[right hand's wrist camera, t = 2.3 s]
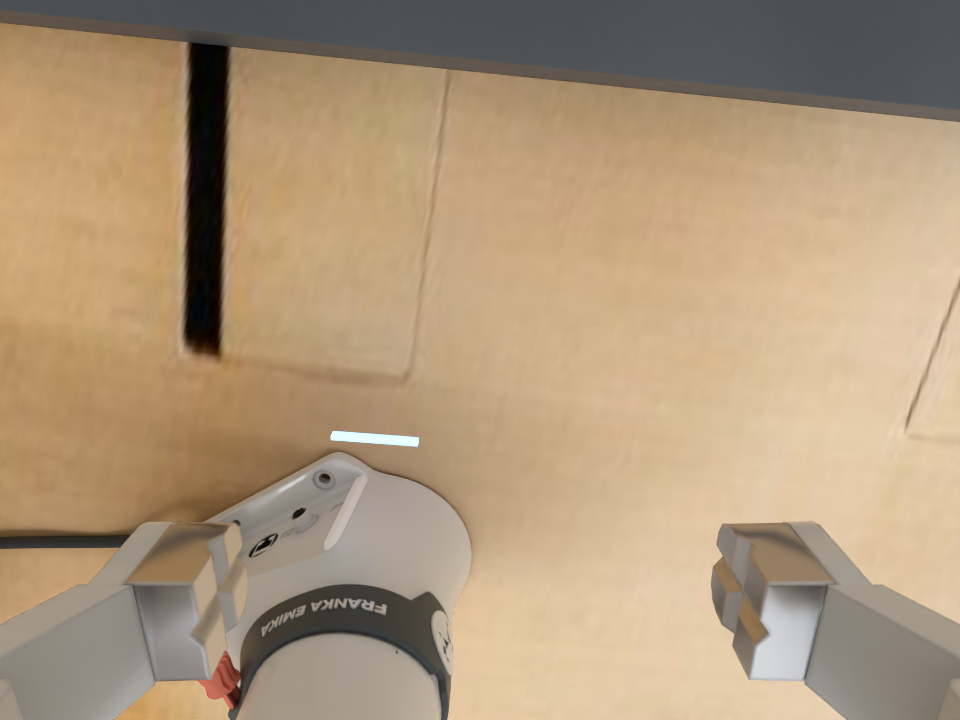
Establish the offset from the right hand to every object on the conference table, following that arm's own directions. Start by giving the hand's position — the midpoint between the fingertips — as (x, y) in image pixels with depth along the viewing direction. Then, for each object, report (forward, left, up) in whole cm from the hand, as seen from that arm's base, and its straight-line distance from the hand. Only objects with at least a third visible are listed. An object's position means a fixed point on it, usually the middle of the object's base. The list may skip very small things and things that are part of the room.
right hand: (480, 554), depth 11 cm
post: (+5, +12, -32) cm, 35 cm away
